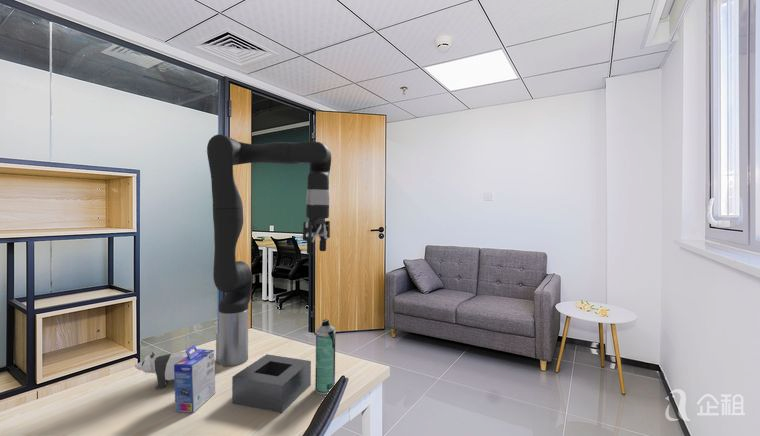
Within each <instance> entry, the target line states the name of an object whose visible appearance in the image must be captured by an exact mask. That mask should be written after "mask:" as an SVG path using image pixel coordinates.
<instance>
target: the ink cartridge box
mask: <svg viewBox="0 0 760 436" xmlns="http://www.w3.org/2000/svg"><path fill="white" fill-rule="evenodd" d="M191 350H194V351H193V352H192V353H190V352H191ZM184 352H186V353H187V357H185V358H184V359H182V360H181V361H179V362H178V363H176V364H175V365H174V379H173V380H174V401H175V403H174V404H175V408H174V409H175V412H181V413H190V414H192V413H195V412H196V411H197V410H198V409H199V408H200V407H202V405H204V404H205V403H206V402H207V401H208V400H209V399H210V398H211V397H213V395H215V394H216V369H215V368H216V367H215V365H216V364H215V363H216V355H215V350H214V349H202V348H199V349H197V347H196V346H195V344H194V345H191V346H190V347H188V348H186V349H185V351H184ZM189 353H190V354H189Z"/></svg>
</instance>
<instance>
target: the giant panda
mask: <svg viewBox="0 0 760 436" xmlns="http://www.w3.org/2000/svg"><path fill="white" fill-rule="evenodd" d="M189 354H191V353H190V352H189ZM185 357H187V353H186V351H176V352H173V353H169V354H163V355H159V356H155V353H154V352H151V354H149V355H146V356H145V357H144V359H143V360H142V361H140V362H138V363H136V364H135V365H134V366H135V368H136V369H137V370H139V371H142V372H144V373H145V374H155V375H156V380H157V386H155V388H154V390H161V389H165V388H166V384H167V383H168V382H169V381H170V380H175V379H174V365H175V364H176V363H178V362H179V361H181V360H182V359H184V358H185Z"/></svg>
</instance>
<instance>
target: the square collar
mask: <svg viewBox="0 0 760 436" xmlns="http://www.w3.org/2000/svg"><path fill="white" fill-rule="evenodd" d="M311 374H312V361H311V360H308V359H300V358H293V357H286V356H281V355H274V354H273V355H272V354H265V355H263V356H262V357H260V358H259V359H257V360H255V361H254V362H252V363H251V364H249V365H248V366H246V367H244V368H243V369H242V370H240V371H239V372H237V373H235V374H234V375H233V376H232V379H231V382H232V383H231V390H232V391H231V396H232V398H231V403H232V404H236V405H241V406H245V407H249V408H255V409H260V410H265V411H270V412H275V413H279V414H283V413H284V412H285V411H286V410H287V409H288V408H289V407H290V406H291V405H292V404H293V403H294V402H295V401H297V399H298V398H299V397H300V396H301V395H302V394H303V393H304V392H305V391H307V389H309V387H310V386H311V383H312V382H311V381H312V379H311V377H312V375H311Z"/></svg>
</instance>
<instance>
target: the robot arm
mask: <svg viewBox="0 0 760 436" xmlns="http://www.w3.org/2000/svg"><path fill="white" fill-rule="evenodd" d="M206 154H207V160H208V167H209V172H210V180H211V194H212V195H211V196H212V218H213V219H212V220H213V221H212V222H213V235H214V237H213V239H214V240H213V241H214V252H213V253H214V255H213V256H214V259H213V282H214V286H215V287H216V288H217V290H218V291H220V292H222V293H225V296H224V297H223V298H222V299H221V300H220V301H219V304H218V331H217V332H216V333H215V363H218V364H219V365H220V366H224V367H233V366H238V365H241V364H244V363H245V362H247V361H248V360H249V303H250V301H251V298H252V283H253V276H252V275H253V273H252V270H251V267H250V266H249V264H248V263H246V262H245V261H242V260H238V261H237V258H236V249H237V244H238V242H239V241H238V240H239V238H240V235H241V233H242V230H243V226H244V209H243V208H244V206H243V200H242V197H241V195H240V192H239V190H238V188H237V185H236V182H235V178H234V177H235V176H234V166H238V165H244V164H252V163H253V164H254V163H255V164H256V163H265V164H283V165H284V164H285V165H286V164H288V165H289V164H290V165H297V164H301V163H306V164H310V172H309V173H308V175H307V190H306V195H305V197H306V198H305V202H306V203H305V205H306V207H305V217H306V218H307V219H309V220H308V221H304V222H303V224H302V225H303V227H302V230H303V231H302V241H304V242H305V243H306V254H308V255H314V254H315V240H316V238H317V237H318V238H319V245H318V246H319V252H326V251H327V241H328V239H329V238H331V226H330V225H331V224H330V223H331V222H330V220H326V219H328V218H330V173H331V166H332V151H331V150H330V148H329V147H328V146H327V145H325V144H324V143H323V142H320V141H300V142H289V141H288V142H286V141H285V142H284V141H282V142H281V141H276V142H267V143H261V144H252V143H248V142H247V143H246V142H242V141H238V140H236V139H234V138H231V137H229V136H227V135H224V134H215V135H213V136H212V137H211V138H210V139H209V140H208V142H207V146H206Z"/></svg>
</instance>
